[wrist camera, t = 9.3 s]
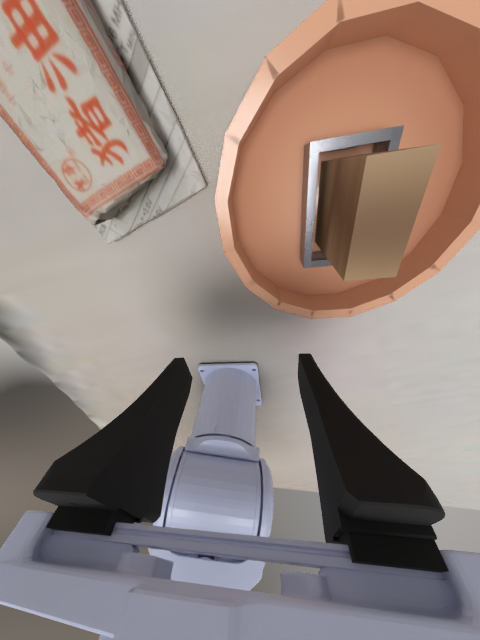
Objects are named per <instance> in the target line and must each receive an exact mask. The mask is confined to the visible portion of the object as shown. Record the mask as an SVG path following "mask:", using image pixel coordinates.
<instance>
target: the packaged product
mask: <svg viewBox="0 0 480 640" xmlns="http://www.w3.org/2000/svg"><path fill="white" fill-rule="evenodd" d="M0 116H1V117H2V118H3V119H4V121H5V122H6V123H7V124H8V125H9V127H10V128H11V129H12V130H13V132H14V133H15V134H16V135H17V136H18V137H19V139H20V140H21V141H22V143H23V144H24V145H25V147H26V148H27V149H28V150H29V151H30V152H31V154H32V155H33V156H34V157H35V158H36V160H37V161H38V162H39V163H40V165H41V166H42V167H43V168H44V169H45V170H46V172H47V173H48V174H49V175H50V176H51V177H52V178H53V179H54V180H55V182H56V183H57V185H58V186H59V188H60V189H61V190H62V192H63V193H64V194H65V196H66V197H67V198H68V199H69V200H70V202H71V203H72V204H73V205H74V207H75V208H76V209H77V210H78V211H79V212H80V213H81V214H82V215H83V217H84V218H85V219H86V220H87V221H89V222H90V223H91V224H92V225H93V226H94V227H95V228H96V229H97V231H98V232H99V233H100V234H101V236H102V237H103V239H104V240H105V241H106V242H107V243H108V244H110V243H112V242H114V241H116V240H118V239H120V238H122V237H124V236H126V235H128V234H129V233H131V232H132V231H133V230H135V229H136V228H138V227H139V226H140V225H142V224H144V223H146V222H148V221H151V220H153V219H155V218H157V217H159V216H160V215H162V214H164V213H166V212H167V211H169V210H171V209H173V208H174V207H176V206H178V205H180V204H181V203H183V202H185V201H186V200H187V199H189V198H190V197H191V196H193V195H194V194H195V193H197V192H198V191H200V190H201V189H202V188H204V187H205V186H206V185H207V184H206V182H205V179H204V177H203V175H202V172H201V170H200V168H199V165H198V163H197V161H196V158H195V156H194V154H193V152H192V149H191V147H190V145H189V143H188V140H187V138H186V136H185V134H184V132H183V129H182V127H181V125H180V123H179V120H178V118H177V116H176V114H175V112H174V110H173V109H172V107H171V105H170V103H169V101H168V99H167V97H166V95H165V93H164V91H163V89H162V87H161V85H160V83H159V81H158V78H157V76H156V74H155V72H154V70H153V68H152V65H151V63H150V61H149V59H148V57H147V54H146V52H145V50H144V48H143V46H142V43H141V41H140V39H139V37H138V35H137V32H136V30H135V28H134V26H133V24H132V22H131V20H130V18H129V15H128V13H127V11H126V9H125V7H124V5H123V2H122V0H0Z"/></svg>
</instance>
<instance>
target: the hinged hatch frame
mask: <svg viewBox="0 0 480 640" xmlns="http://www.w3.org/2000/svg"><path fill="white" fill-rule="evenodd" d="M403 128H404V125H401V126H396V127H390V128H385V129H379V130H374V131H368V132H363V133H357V134H352V135H346V136H341V137H335V138H330V139H324V140H319V141H313V142H309V143H308V144H306V145H304V160H303V186H302V211H301V237H300V261H301V263H302V265H303V268H312V267H323V266H332V264H331V263H330V262H329V260H328V259H327V258H326V256H325V255H324V253H323V252H322V251H312V242H313V229H314V215H315V201H316V188H317V174H318V160H319V153H322V152H328V151H334V150H340V149H345V148H351V147H357V146H363V145H368V144H374V145H373V150H372V153H377V152H384V151H391V150H398V148H399V144H400V140H401V136H402V132H403Z"/></svg>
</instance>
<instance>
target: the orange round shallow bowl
mask: <svg viewBox="0 0 480 640" xmlns="http://www.w3.org/2000/svg"><path fill="white" fill-rule="evenodd" d="M401 125H404V128H403V132H402V136H401V140H400V144H399V148H398V149H406V148H413V147H420V146H427V145H435V144H441V147H440V150H439V153H438V156H437V159H436V162H435V165H434V168H433V170H432V173H431V176H430V179H429V182H428V185H427V188H426V191H425V194H424V197H423V200H422V203H421V205H420V208H419V211H418V214H417V217H416V220H415V223H414V226H413V229H412V232H411V235H410V238H409V240H408V243H407V246H406V249H405V252H404V255H403V258H402V261H401V264H400V267H399V270H398V273H397V275H396V277H390V278H378V279H366V280H354V281H343V279H342V278H341V277H340V275H339V274H338V273H337V271H336V270H335V268H334V267H333V266H323V267H312V268H303V265H302V263H301V261H300V237H301V211H302V186H303V160H304V145H306V144H308V143H309V142H313V141H319V140H324V139H330V138H335V137H341V136H346V135H352V134H357V133H363V132H368V131H374V130H379V129H385V128H390V127H396V126H401ZM373 145H374V144H368V145H363V146H357V147H351V148H345V149H340V150H334V151H328V152H322V153H319V160H318V174H317V188H316V201H315V215H314V229H313V242H312V251H321V249H320V248H319V247H318V245H317V244H316V243H315V233H316V220H317V207H318V195H319V182H320V170H321V161H326V160H332V159H338V158H344V157H350V156H356V155H362V154H370V153H372V150H373ZM214 202H215V207H216V212H217V218H218V223H219V229H220V234H221V240H222V245H223V251H224V253H225V255H226V257H227V258H228V260H229V261H230V263H231V265H232V266H233V268H234V269H235V271H236V273H237V274H238V276H239V278H240V279H241V281H242V282H243V284H244V286H245V287H246V288H247V289H248V290H250V291H251V292H253V293H254V294H255V295H257V296H258V297H259V298H261V299H262V300H264V301H265V302H266V303H268V304H269V305H270V306H272V307H273V308H274V309H276V310H280V311H284V312H287V313H291V314H295V315H299V316H302V317H306V318H310V319H316V318H333V317H350V316H353V315H356V314H359V313H362V312H365V311H368V310H371V309H374V308H377V307H379V306H382V305H385V304H388V303H391V302H394V301H395V300H397V299H398V298H400V297H402V296H403V295H405V294H406V293H408V292H409V291H411V290H412V289H414V288H415V287H417V286H418V285H420V284H421V283H423V282H424V281H426V280H427V279H429V278H430V277H432V276H434V275H435V274H437V273H438V272H440V271H441V270H442V269H443V268H444V267H445V265H446V264H447V263H448V262H449V261H450V260H451V259H452V258H453V257H454V256H455V255H456V254H457V253H458V252H459V250H460V249H461V248H462V247H463V246H464V245H465V244H466V243H467V242H468V241H469V240H470V239H471V238H472V237H473V235H474V234H475V233H476V232H477V231H478V230H479V229H480V0H327V1H325V2H324V3H323V4H322V5H321V6H320V7H319V8H318V9H317V10H316V11H315V12H313V13H312V14H311V15H310V16H309V17H308V18H307V19H306V20H305V21H304V22H303V23H301V24H300V25H299V26H298V27H297V28H296V29H295V30H294V31H293V32H292V33H291V34H289V35H288V36H287V37H286V38H285V39H284V40H283V41H282V42H281V43H280V44H279V45H277V46H276V47H275V48H274V49H273V50H272V51H271V52H270V53H269V54H268V55H267V56H265V59H264V60H263V62H262V64H261V66H260V68H259V70H258V72H257V74H256V76H255V78H254V80H253V82H252V83H251V85H250V87H249V89H248V91H247V93H246V95H245V97H244V99H243V101H242V103H241V105H240V107H239V108H238V110H237V112H236V114H235V116H234V118H233V120H232V122H231V124H230V126H229V128H228V130H227V131H226V133H225V138H224V144H223V150H222V157H221V163H220V169H219V175H218V182H217V188H216V194H215V201H214Z"/></svg>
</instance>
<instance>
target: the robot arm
mask: <svg viewBox="0 0 480 640" xmlns="http://www.w3.org/2000/svg"><path fill="white" fill-rule="evenodd" d="M198 371H199V373H200V376H201V378H202V381H203V383H204V389H203V393H202V397H201V400H200V404H199V408H198V412H197V416H196V419H195V423H194V427H193V431H192V435H191V437H188V439H187V442H186V446H185V447H182V446H180V447H178V448H177V450H175V451H174V452H173V453H172V449H173V445H174V441H175V436H176V433H177V429H178V426H179V423H180V420H181V417H182V414H183V411H184V408H185V405H186V402H187V399H188V396H189V393H190V388H191V383H192V376H191V373H190V371H189V369H188V366H187V364H186V362H185V360H184V358H174V360H173V361H172V362H171V363H170V364H169V365H168V366H167V367H166V369H165V370H164V371H163V372H162V373H161V374H160V375H159V377H158V378H157V379H156V380H155V381H154V382H153V383H152V384H151V385H150V386H149V387H148V388H147V390H146V391H145V392H144V393H143V394H142V395H141V396H140V397H139V398H138V399H137V400H136V401H135V402H134V403H132V404H131V405H130V406H129V407H128V408H127V409H126V410H125V411H124V412H122V413H121V414H120V415H119V416H118V417H117V418H115V419H114V420H113V421H112V422H110V423H109V424H108V425H107V426H105V427H104V428H103V429H101V430H100V431H99V432H98V433H96V434H95V435H94V436H92V437H91V438H89V439H88V440H86V441H85V442H84V443H82V444H81V445H79V446H78V447H76V448H75V449H73V450H71V451H70V452H68V453H67V454H65V455H64V456H62V457H61V458H59V459H57V460H56V461H54V463H53V464H52V466H51V467H50V469H49V470H48V471H47V473H46V474H45V476H44V477H43V478H42V480H41V481H40V483H39V484H38V486H37V487H36V488H35V490H34V491H33V493H34V496H36V497H38V498H40V499H42V500H45V501H47V502H50V503H52V504H55V505H57V506H58V508H57V510H56V511H55V513H51V512H44V511H34V510H28V511H26V512H25V514H24V515H23V517H22V518H21V520H20V521H19V523H18V524H17V526H16V527H15V528H14V530H13V531H12V533H11V534H10V536H9V537H8V539H7V540H6V542H5V543H4V545H3V546H2V548H1V549H0V604H2V605H5V606H9V607H13V608H16V609H19V610H23V611H26V612H29V613H32V614H36V615H39V616H42V617H45V618H49V619H52V620H56V621H59V622H62V623H65V624H68V625H72V626H75V627H78V628H81V629H85V630H88V631H91V632H94V633H98V634H100V637H99V640H480V553H474V552H463V551H454V550H440V551H439V549H438V547H437V545H436V543H435V540H436V539H437V537H436V534H435V532H434V530H433V528H432V526H431V525H432V524H434V523H436V522H438V521H440V520H442V519H443V518H444V517H445V512H444V510H443V508H442V506H441V504H440V503H439V501H438V499H437V497H436V496H435V494H434V493H433V491H432V490H431V488H430V487H429V485H428V484H427V482H426V481H425V479H423V478H422V477H421V476H420V475H419V474H417V473H416V472H415V471H414V470H413V469H411V468H410V467H409V466H408V465H407V464H406V463H404V462H403V461H402V460H401V459H400V458H399V457H397V456H396V455H395V454H394V453H393V452H392V451H391V450H390V449H389V448H387V447H386V446H385V445H384V444H383V443H382V442H381V441H380V440H379V439H378V438H377V437H376V436H375V435H374V434H373V433H372V432H371V431H370V430H369V429H368V428H367V427H366V426H365V425H364V424H363V423H362V422H361V421H360V420H359V419H358V418H357V417H356V416H355V415H354V414H353V412H352V411H351V410H350V409H349V408H348V407H347V406H346V404H345V403H344V402H343V401H342V400H341V398H340V397H339V396H338V395H337V393H336V392H335V391H334V389H333V388H332V387H331V385H330V384H329V382H328V381H327V380H326V378H325V377H324V375H323V374H322V372H321V371H320V369H319V367H318V366H317V364H316V362H315V361H314V359H313V357H312V355H311V354H299V363H298V381H299V388H300V394H301V398H302V403H303V407H304V411H305V415H306V419H307V423H308V427H309V431H310V436H311V441H312V448H313V454H314V461H315V467H316V474H317V481H318V488H319V495H320V503H321V510H322V518H323V525H324V534H325V540H326V543H322V542H312V541H301V540H291V539H282V538H272V537H269V535H270V532H271V526H272V519H273V518H272V517H273V482H272V475H271V471H270V468H269V467H268V465H267V463H266V461H265V460H264V459H261V458H259V448H257V447H255V438H256V406H261V405H262V398H261V390H260V382H259V374H258V367H257V364H256V363H227V364H200V365H198ZM134 522H136V523H141V522H151V523H153V526H149V525H140V524H133V523H134ZM138 547H142V548H148V550H149V553H150V555H146V554H140V553H139V548H138ZM265 562H271V563H279V564H287V565H297V566H305V567H314V568H322V569H321V570H320V571H319V573H318V575H317V574H311V573H300V572H284V571H282V573H281V595H274V594H268V593H261V592H254V591H250V590H251V589H252V588H253V587H254V586H255V585H256V584H257V583H258V582H259V581H260V579H261V578H262V570H263V568H264V566H265Z"/></svg>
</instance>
